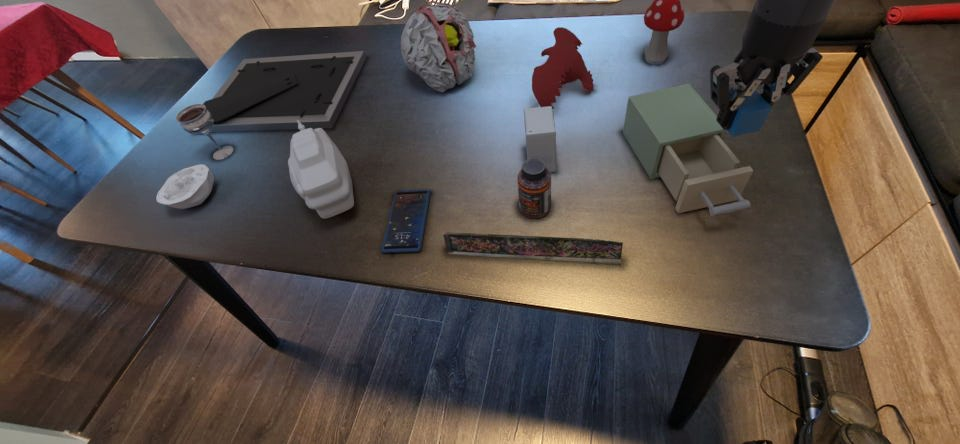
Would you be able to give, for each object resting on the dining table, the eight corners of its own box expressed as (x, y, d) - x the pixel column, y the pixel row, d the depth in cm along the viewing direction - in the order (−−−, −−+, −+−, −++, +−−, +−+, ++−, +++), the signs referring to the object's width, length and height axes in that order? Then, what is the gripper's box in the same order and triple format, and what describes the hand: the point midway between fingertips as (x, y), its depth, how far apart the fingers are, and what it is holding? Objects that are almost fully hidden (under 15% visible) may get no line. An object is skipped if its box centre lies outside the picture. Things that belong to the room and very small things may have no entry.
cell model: (233, 185, 97) (214, 163, 92) (191, 224, 91) (169, 203, 85) (203, 174, 101) (184, 153, 95) (162, 211, 94) (139, 191, 89)
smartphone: (430, 188, 86) (420, 250, 77) (431, 191, 87) (421, 252, 78) (394, 190, 87) (380, 251, 78) (395, 193, 88) (381, 254, 79)
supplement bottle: (515, 216, 80) (510, 174, 71) (525, 193, 83) (522, 150, 75) (545, 223, 78) (545, 181, 70) (555, 199, 82) (555, 156, 73)
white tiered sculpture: (350, 162, 96) (320, 104, 84) (370, 216, 85) (339, 159, 73) (303, 181, 94) (265, 124, 82) (317, 239, 83) (276, 184, 71)
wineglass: (239, 154, 104) (207, 114, 94) (211, 166, 102) (176, 127, 93) (234, 139, 108) (203, 99, 98) (207, 151, 106) (174, 112, 97)
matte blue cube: (760, 130, 62) (772, 107, 58) (732, 136, 62) (742, 113, 58) (744, 112, 64) (754, 89, 61) (717, 118, 64) (726, 95, 61)
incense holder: (447, 254, 77) (441, 237, 73) (448, 248, 78) (442, 230, 74) (620, 265, 71) (624, 247, 67) (620, 258, 72) (624, 240, 67)
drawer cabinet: (712, 165, 81) (727, 128, 74) (650, 179, 81) (659, 143, 74) (678, 120, 90) (689, 83, 83) (622, 132, 90) (628, 96, 83)
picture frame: (196, 133, 112) (332, 128, 105) (187, 122, 109) (326, 116, 102) (247, 65, 130) (366, 58, 123) (240, 55, 127) (362, 46, 120)
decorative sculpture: (424, 112, 116) (430, 89, 96) (385, 43, 114) (382, 5, 94) (482, 82, 119) (499, 53, 99) (445, 14, 117) (455, -29, 97)
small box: (556, 172, 86) (556, 132, 77) (528, 175, 86) (525, 135, 78) (552, 145, 91) (552, 105, 82) (526, 148, 91) (523, 107, 83)
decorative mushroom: (673, 70, 101) (689, 6, 89) (635, 68, 103) (645, 6, 91) (674, 47, 106) (690, -16, 94) (638, 46, 109) (649, -16, 97)
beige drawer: (754, 221, 72) (772, 192, 66) (691, 235, 72) (703, 207, 66) (701, 151, 83) (712, 121, 77) (647, 163, 83) (654, 134, 77)
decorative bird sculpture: (585, 70, 113) (547, 27, 107) (614, 50, 105) (575, 3, 100) (557, 141, 97) (511, 95, 92) (588, 123, 90) (541, 73, 85)
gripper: (749, 35, 47) (704, 150, 60) (876, 7, 47) (802, 128, 60) (714, 4, 51) (680, 117, 65) (830, -22, 51) (771, 97, 65)
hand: (739, 121), depth 62 cm, fingers closed on matte blue cube, 4 cm apart
